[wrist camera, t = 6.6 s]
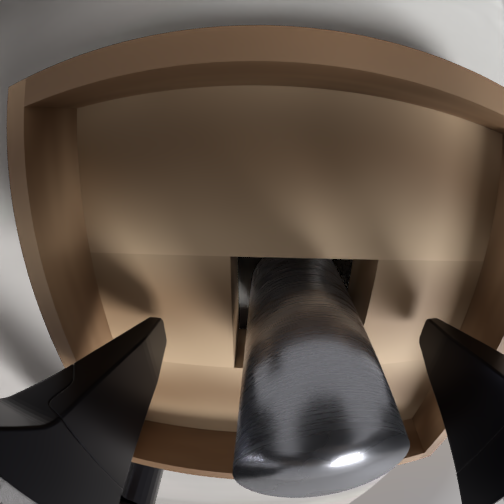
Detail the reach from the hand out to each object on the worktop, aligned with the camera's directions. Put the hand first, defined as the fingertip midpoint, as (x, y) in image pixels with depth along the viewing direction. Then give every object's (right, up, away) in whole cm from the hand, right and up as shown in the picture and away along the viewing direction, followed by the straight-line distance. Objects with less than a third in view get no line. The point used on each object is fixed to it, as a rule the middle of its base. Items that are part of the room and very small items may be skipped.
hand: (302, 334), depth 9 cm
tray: (0, +1, +3) cm, 3 cm away
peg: (0, +1, +3) cm, 3 cm away
